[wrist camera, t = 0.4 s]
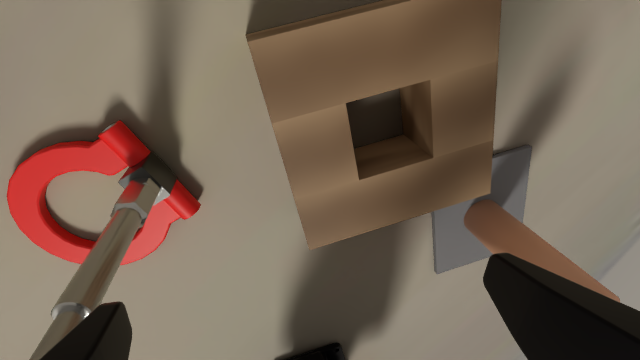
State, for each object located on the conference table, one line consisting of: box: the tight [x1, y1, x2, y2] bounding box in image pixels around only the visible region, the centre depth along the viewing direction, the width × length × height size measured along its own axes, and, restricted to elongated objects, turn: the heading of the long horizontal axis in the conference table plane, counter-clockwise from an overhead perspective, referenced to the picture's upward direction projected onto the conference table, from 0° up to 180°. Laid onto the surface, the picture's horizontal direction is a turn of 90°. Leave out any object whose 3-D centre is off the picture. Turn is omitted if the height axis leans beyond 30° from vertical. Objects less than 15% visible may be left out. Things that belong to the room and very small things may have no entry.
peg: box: [464, 199, 620, 302], centre depth 23 cm, size 3×3×10 cm
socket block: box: [246, 0, 502, 250], centre depth 19 cm, size 12×12×4 cm
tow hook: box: [7, 120, 201, 360], centre depth 15 cm, size 8×13×9 cm
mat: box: [432, 145, 532, 274], centre depth 27 cm, size 10×8×1 cm
